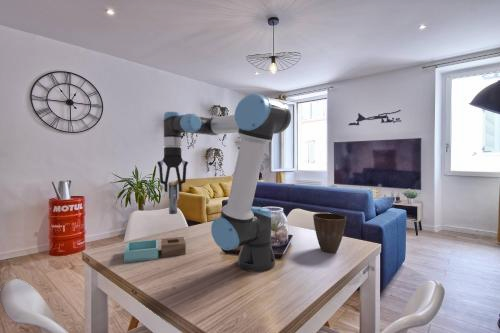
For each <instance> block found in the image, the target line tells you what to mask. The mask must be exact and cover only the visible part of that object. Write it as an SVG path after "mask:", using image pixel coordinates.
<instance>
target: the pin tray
mask: <svg viewBox="0 0 500 333" xmlns="http://www.w3.org/2000/svg"><path fill="white" fill-rule="evenodd" d="M123 259H124V260H123V263H124V264H126V263H135V262H144V261H152V260H159V238H158V239H149V240H146V239H145V240H138V241H128V242H127V243H126V245H125V248H124V252H123Z"/></svg>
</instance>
